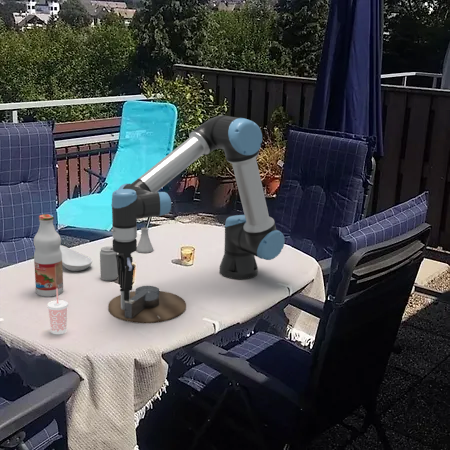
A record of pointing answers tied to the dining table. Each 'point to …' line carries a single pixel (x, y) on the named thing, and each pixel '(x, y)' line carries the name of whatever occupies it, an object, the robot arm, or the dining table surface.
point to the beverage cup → (58, 315)
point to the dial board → (151, 309)
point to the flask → (144, 242)
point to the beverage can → (108, 264)
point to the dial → (142, 300)
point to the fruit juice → (48, 258)
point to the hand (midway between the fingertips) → (125, 308)
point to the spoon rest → (74, 259)
